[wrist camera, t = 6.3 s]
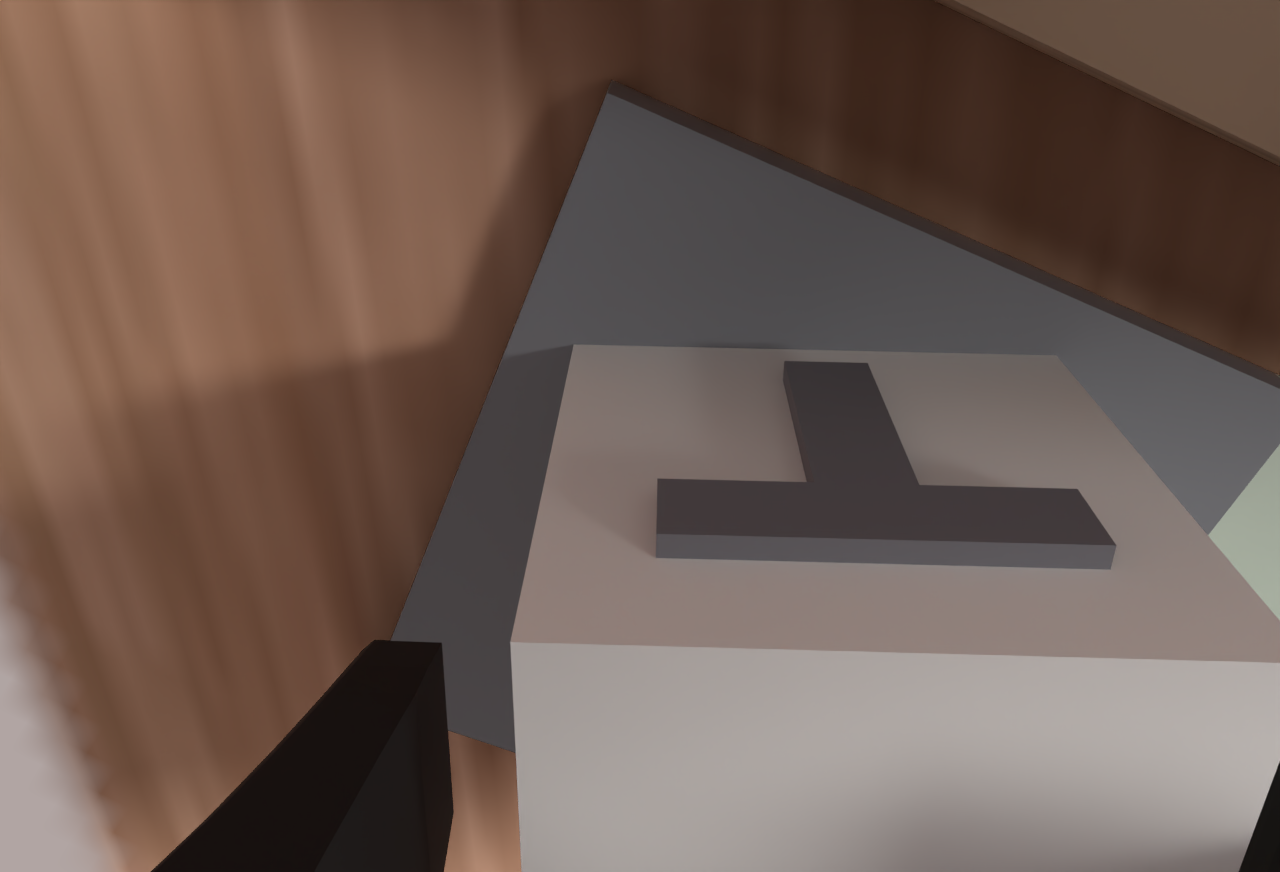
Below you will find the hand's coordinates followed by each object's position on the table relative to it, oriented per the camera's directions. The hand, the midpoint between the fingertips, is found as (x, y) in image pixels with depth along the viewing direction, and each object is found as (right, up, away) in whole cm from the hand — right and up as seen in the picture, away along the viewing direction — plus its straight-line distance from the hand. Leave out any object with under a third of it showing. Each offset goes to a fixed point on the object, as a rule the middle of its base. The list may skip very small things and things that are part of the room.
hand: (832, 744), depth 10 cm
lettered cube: (0, +1, +2) cm, 3 cm away
